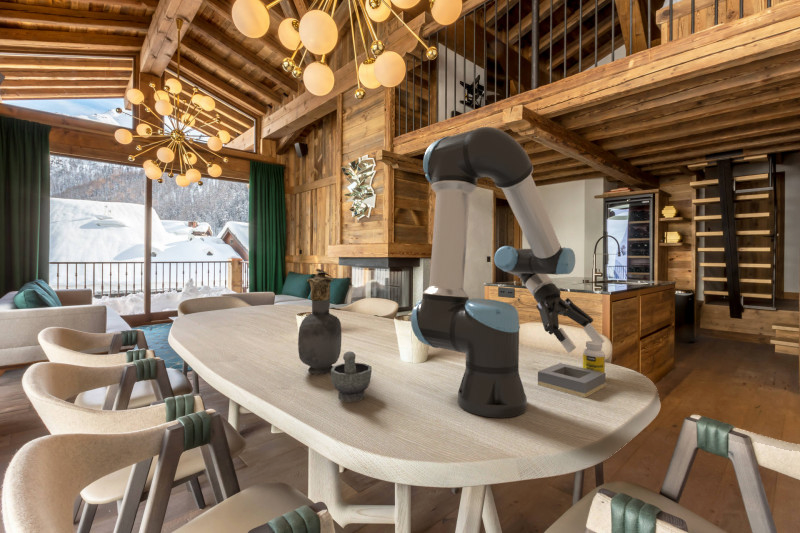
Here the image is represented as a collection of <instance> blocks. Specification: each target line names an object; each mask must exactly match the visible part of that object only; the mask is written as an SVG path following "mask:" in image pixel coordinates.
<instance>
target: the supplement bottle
mask: <svg viewBox="0 0 800 533" xmlns="http://www.w3.org/2000/svg"><path fill="white" fill-rule="evenodd" d="M602 349H603V343H600V342H596V341H592V340H587V341H586V342H585V349H583V351H582V368H585V369H590V370H594V371H599V372H603V373H606V369H605V366H606V353H605V351H603V350H602Z"/></svg>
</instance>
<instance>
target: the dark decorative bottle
mask: <svg viewBox="0 0 800 533" xmlns="http://www.w3.org/2000/svg"><path fill="white" fill-rule="evenodd" d="M315 271H316V272H317V273H316V274H315V276H314V277H313V278H308V279H307V280H306V281H307V282H308V283H309V286H310V300H311V313H310V314H309V315H307V316H305V317H304V318H303V320H302V321H301V323H300V325H299V329H298V336H297V338H298V339H297V340H298V341H297V349H298V355H299V356H298V358H299V359H300V361H301V362H302V363H303V364H304V365H306V366H309V368H308V373H309V374H310V373H311V375H314V374H318V375H317V376H320V374H323V375H327V373H328V374H331V369H332V367H333V365H334V364H336V363H337V362H338V360H339V358H340V355H341V352H342V323H341V321H340V319H339V317H337V316H336V315H334V314H332V313H330V305H331V303H330V300H331V283H332V282H333V281H334V279H333V278H329V277H332V276H331V275H330V273H328V272H327V271H325V270H322V269H320V268H316V269H315ZM327 276H328V277H327Z"/></svg>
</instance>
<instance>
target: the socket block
mask: <svg viewBox="0 0 800 533" xmlns="http://www.w3.org/2000/svg"><path fill="white" fill-rule="evenodd" d="M606 374H607V373H606V372H605V373H603V372H599V371H594V370H590V369H585V368H583V367H581V366H576V365H571V364H567V363H563V362H559V363H556V364H554V365H552V366H549V367H546V368H543V369H541V370H539V371H537V386H541V387H544V388H548V389H552V390H556V391H559V392H562V393H566V394H569V395H573V396H577V397H580V398H584V399H585V398H587V397H589V396H591V395H592V394H594V393H596V392H597V391H599V390H602V389H603V388H606Z"/></svg>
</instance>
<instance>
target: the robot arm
mask: <svg viewBox="0 0 800 533" xmlns="http://www.w3.org/2000/svg"><path fill="white" fill-rule="evenodd" d="M422 163H423V164H422V166H423V168H422V169H423V172H424V173H425V179H426V180H427V182H429V183H430V188H431V190H432V191H433V192H434V193H435V205H434V206H435V208H434V218H433V219H434V220H433V221H434V222H433V233H432V243H431V245H432V247H431V258H430V260H431V261H430V272H429V273H430V274H429V285H428V286H427V288H426V289H425V290H424V291H423V292H422V299H420V300H418V301H416V303H415V306H414V307H413V308H412V311H411V318H410V324H411V328H412V332H413V333H414V335H415V337H416V338H417V340H418V341H419V342H421V343H422V344H424V345H426V346H429V347H432V348H435V349H443V350H448V351H452V352H457V353H462V354H465V369H464V372H463V376H462V378H461V382H460V385H459V388H458V391H457V404H458V406H459V407H460V408H461V409H463V410H464V411H466V412H468V413H471V414H474V415H476V416H481V417H487V418H496V419H497V418H499V419H500V418H502V419H504V418H512V417H517V416H520V415H522V414H524V413H525V412H526V411H527V409H528V407H527V405H528V404H527V403H528V400H527V395H526V391H525V388H524V386H523V383H522V378H521V376H520V370H519V368H520V366H519V362H520V360H519V357H520V353H519V352H520V330H521V325H520V317H519V316H520V315H519V311H518V309H517V308H516V307H515V306H514V305H512V304H511V303H508V302H504V301H500V300H496V299H490V298H489V299H487V298H478V297H477V298H470V295H469V294H468V293H467V292H466V291H465V289H464V284H465V269H466V255H467V242H468V241H467V239H468V228H469V227H468V226H469V212H470V199H471V198H470V197H471V195H472V194H474V192H476V191H477V187H478V186H477V185H478V179H483V178H489V179H491V180H492V182H493V183H494V185H495V187H496V188H499V189H501V190H502V192H503V194H504V196H505V199H506V200H507V202H508V205H509V207H510V209H511V211H512V213H513V215H514V217H515V219H516V221H517V222H518V225H519V227H520V229H521V231H522V234H523V235H524V237H525V239H526V241H527V243H528V245H529V247H530V248H515V247H513V246H509V245H504V246H500V247H499V248H498V249H497V250H496V252H495V253H494V257H493V258H494V259H493V260H494V264H495V266H496V267H497V268H498V269H500V270H502V272H505V273H507V274H511V275H513V276H516V277H518V278H519V279H520V281H521V282H522V283H523V285H524V286H525V287H526V289H527V290H528V291H529V293H530V294H531V296H533V298H534V300H535V301H536V303H537V305H536V306H535V308H536V309H537V310H538V312H539V315H540V319H541V322H542V325H543V328H544V331H545V332H547V333H548V334H549V335H551V336H552V335H554V337H555V338H556V339H557V340H558V341H559V342H560V344H561V345H562V346H563V348H564V349H565V350H566V352H567V353H568V354H570V353H572V351H574V350H575V349H576V348H577V346H576V345H575V343H574V342H573V340H571V338H570V336H569V335H568V334H567V333H566V331H565V330H564V328H562V327H560V326H559V316H563V317H568V318H569V319H571V320H572V321H573V322H575V323H577V324H578V325H580V326H581V327H583V328H582V329H583V331H584V333H586V334H587V336H588V338H589V339H590V341H596V342H600V343H602V344H604V343H605V341H606V340H604V338H603V337H602V336H601V334H600V333H599V332H598V331H597V329H596V328H595V327H594V326H593V324H592V323H593V322H594V319H593V318H592V317H591V316H590V315H588V314H587V313H586V312H585V311H584V310H582V309H581V308H580V307H579V306H578V305H576V304H575V303H574V302H573V301H572V300H571V299H570V298H569V297H567V298H566V299H565V300H563V299H562V298H561V291H560V289H559V288H558V287H557V286H556V284H555V283H553V282H554V281H553V280H552V279H551V278H550V277H549V276H548V275H556V276H557V275H569V274H571V273H572V272H573V271H574V269H575V266H576V255H575V251H574V250H573V249H572V248H570V247H562V246H561V243H560V241H559V239H558V236H557V235H556V232H555V230H554V227H553V224H552V222H551V219H550V217H549V214H548V211H547V209H546V207H545V205H544V203H543V200H542V198H541V196H540V193H539V189H538V188H537V186H536V182H535V181H534V179H533V175H532V174H533V171H534V166H533V164H532V161H531V159H530V157H529V155H528V154H527V152H526V150H525V148H523V146H522V145H521V144H520V142H518V141H517V140H516V139H515V138H514V137H512V136H511V135H510V134H509V133H507V132H505V131H503V130H502V129H499V128H496V127H491V126H481V127H478V128H475V129H472V130H471V129H470V130H467V131H465V132H461V133H458V134H454V135H449V136H444V137H442V138H440V139H437V140H435V141H434V142H432V143H431V144H430V145H429V146H428V147H427V149H426V150H425V152H424V156H423V161H422Z"/></svg>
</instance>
